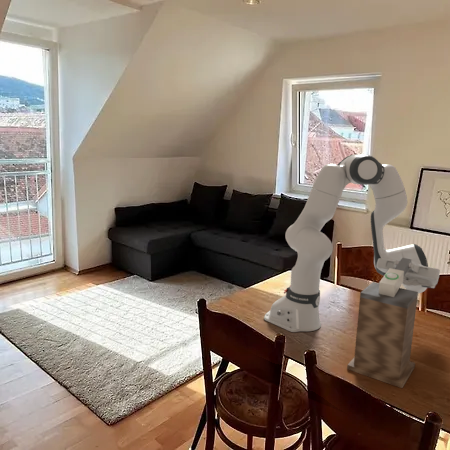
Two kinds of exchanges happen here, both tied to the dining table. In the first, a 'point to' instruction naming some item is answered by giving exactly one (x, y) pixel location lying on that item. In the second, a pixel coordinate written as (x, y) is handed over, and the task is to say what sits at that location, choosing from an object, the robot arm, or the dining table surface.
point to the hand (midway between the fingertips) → (403, 264)
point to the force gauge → (394, 278)
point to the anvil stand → (385, 335)
